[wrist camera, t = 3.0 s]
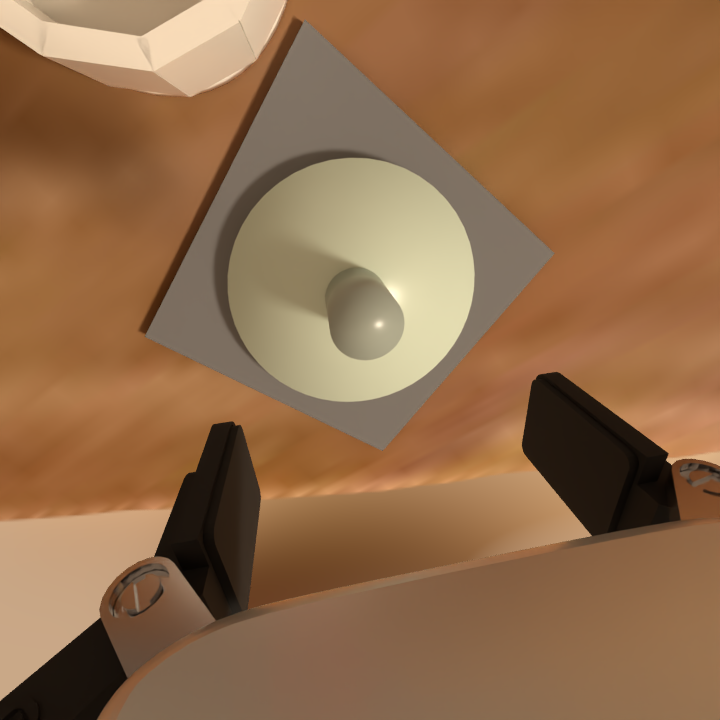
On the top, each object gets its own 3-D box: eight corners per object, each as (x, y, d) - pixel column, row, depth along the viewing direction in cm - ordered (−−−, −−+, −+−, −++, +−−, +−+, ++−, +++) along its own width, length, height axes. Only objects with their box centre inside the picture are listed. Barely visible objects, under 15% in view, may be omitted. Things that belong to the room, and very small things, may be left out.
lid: (515, 260, 25) (571, 283, 19) (378, 425, 30) (394, 479, 24) (316, 90, 19) (320, 56, 14) (187, 328, 24) (153, 371, 19)
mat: (550, 251, 25) (554, 253, 25) (381, 447, 31) (382, 450, 31) (305, 23, 18) (304, 19, 18) (147, 333, 24) (144, 336, 24)
